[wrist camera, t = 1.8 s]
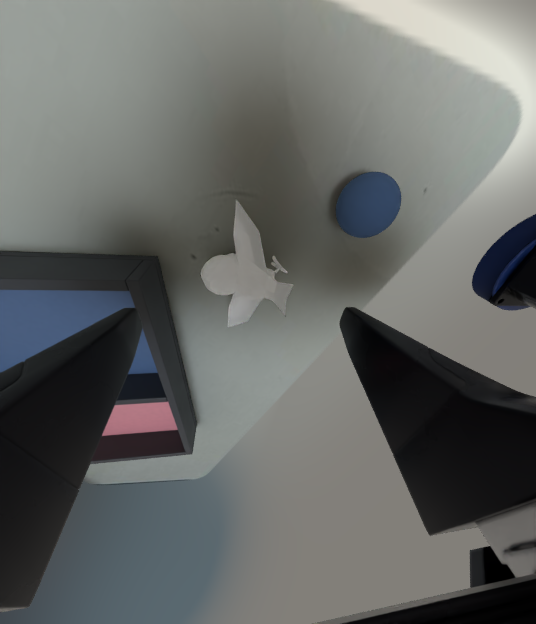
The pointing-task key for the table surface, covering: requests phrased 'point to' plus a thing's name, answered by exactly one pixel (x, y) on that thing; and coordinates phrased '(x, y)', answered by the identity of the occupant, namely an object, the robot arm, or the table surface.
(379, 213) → the slate ball
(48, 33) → the table surface
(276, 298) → the white bird figurine
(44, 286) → the tray
